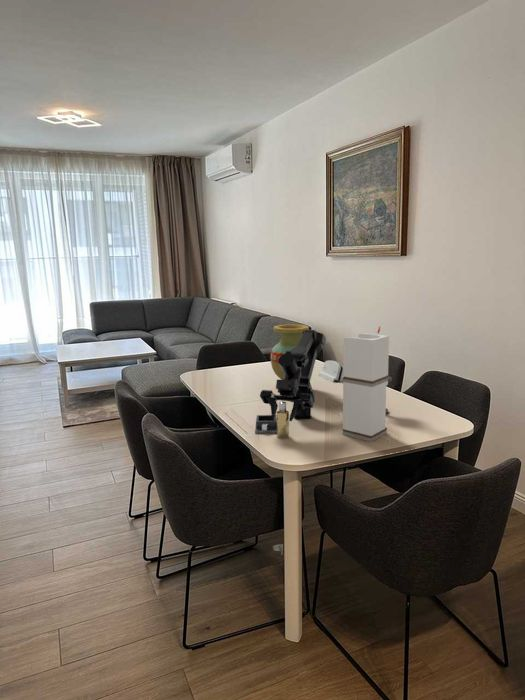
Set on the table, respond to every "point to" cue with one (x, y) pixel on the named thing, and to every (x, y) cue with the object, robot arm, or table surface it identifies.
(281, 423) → the gold perfume bottle
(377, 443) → the table surface
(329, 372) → the hinge
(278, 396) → the robot arm
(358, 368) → the white banded pillar
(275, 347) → the vase
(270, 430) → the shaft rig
